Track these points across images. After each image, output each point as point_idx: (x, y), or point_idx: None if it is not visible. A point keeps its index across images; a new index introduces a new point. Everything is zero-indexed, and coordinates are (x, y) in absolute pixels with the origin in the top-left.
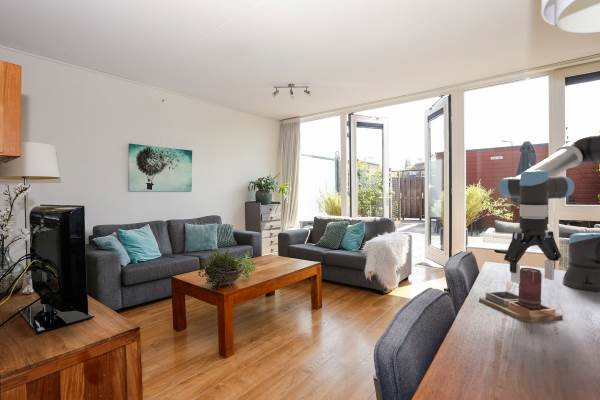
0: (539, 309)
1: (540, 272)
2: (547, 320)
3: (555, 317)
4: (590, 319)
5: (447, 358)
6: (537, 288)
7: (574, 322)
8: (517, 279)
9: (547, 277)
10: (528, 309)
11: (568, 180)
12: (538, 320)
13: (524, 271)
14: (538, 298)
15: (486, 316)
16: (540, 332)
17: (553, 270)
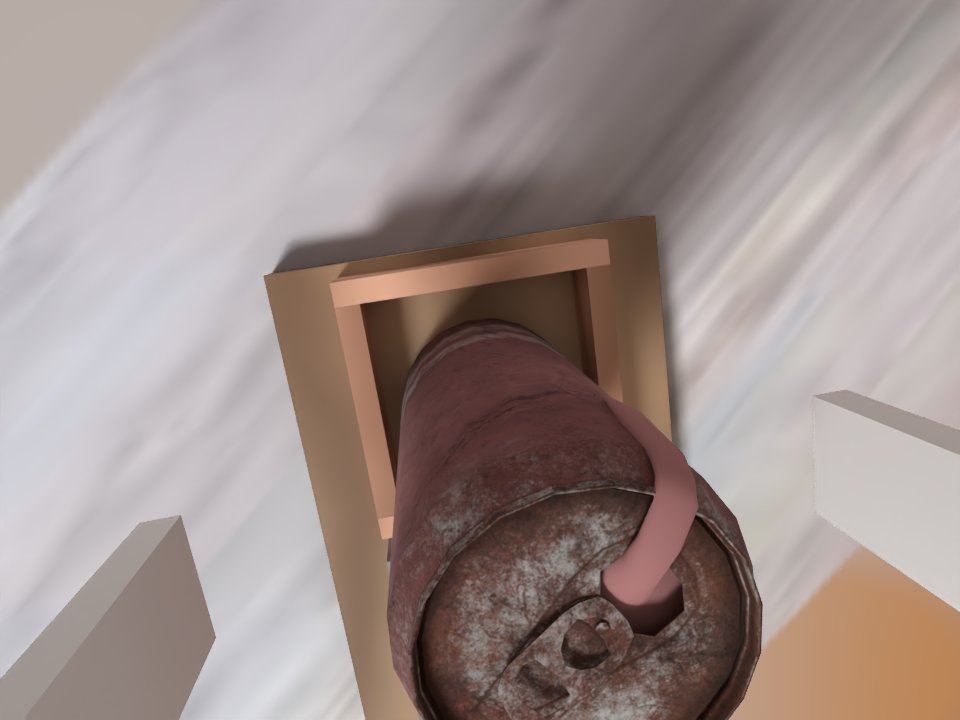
0: (451, 332)
1: (470, 517)
2: (433, 248)
3: (347, 262)
4: (8, 254)
5: None
6: (522, 371)
7: (220, 199)
8: (897, 414)
9: (193, 608)
10: (596, 294)
11: None
12: (526, 234)
13: (753, 583)
14: (484, 344)
15: (849, 356)
16: (677, 27)
17: (59, 634)
